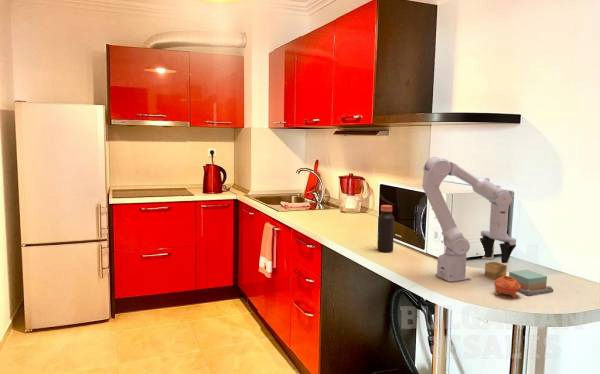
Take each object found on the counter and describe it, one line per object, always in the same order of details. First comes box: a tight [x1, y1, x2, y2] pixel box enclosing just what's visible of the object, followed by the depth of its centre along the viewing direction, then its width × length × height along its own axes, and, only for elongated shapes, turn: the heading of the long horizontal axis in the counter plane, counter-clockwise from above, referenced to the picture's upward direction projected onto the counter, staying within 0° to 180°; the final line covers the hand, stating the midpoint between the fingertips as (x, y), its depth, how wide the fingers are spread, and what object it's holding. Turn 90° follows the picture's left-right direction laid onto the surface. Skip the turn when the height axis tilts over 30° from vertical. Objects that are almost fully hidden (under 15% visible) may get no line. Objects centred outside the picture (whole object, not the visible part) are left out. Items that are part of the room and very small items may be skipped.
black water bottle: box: [377, 204, 395, 253], centre depth 198 cm, size 7×7×20 cm
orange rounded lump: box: [493, 275, 521, 299], centre depth 147 cm, size 8×8×7 cm
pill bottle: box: [481, 243, 495, 260], centre depth 189 cm, size 5×5×10 cm
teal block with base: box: [508, 269, 554, 297], centre depth 153 cm, size 11×11×5 cm
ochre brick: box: [484, 261, 508, 281], centre depth 164 cm, size 5×5×5 cm
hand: (496, 259), depth 164 cm, fingers open, 7 cm apart
